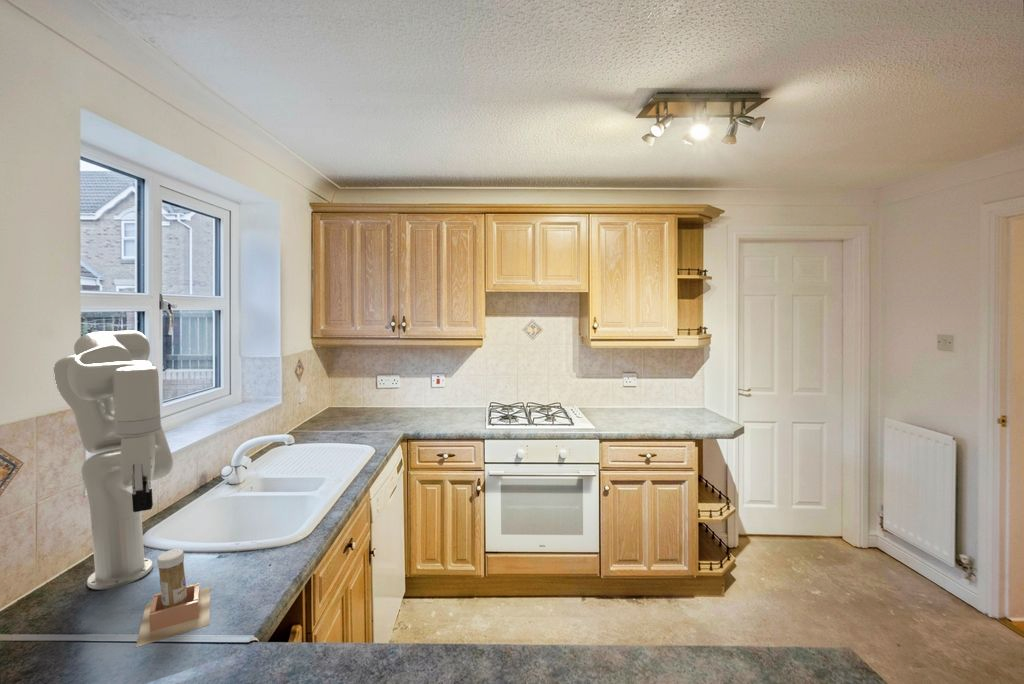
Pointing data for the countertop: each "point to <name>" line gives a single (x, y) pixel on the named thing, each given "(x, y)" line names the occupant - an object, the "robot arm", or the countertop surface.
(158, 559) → the sprinkles bottle
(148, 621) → the stand board
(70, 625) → the countertop surface
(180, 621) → the collar
